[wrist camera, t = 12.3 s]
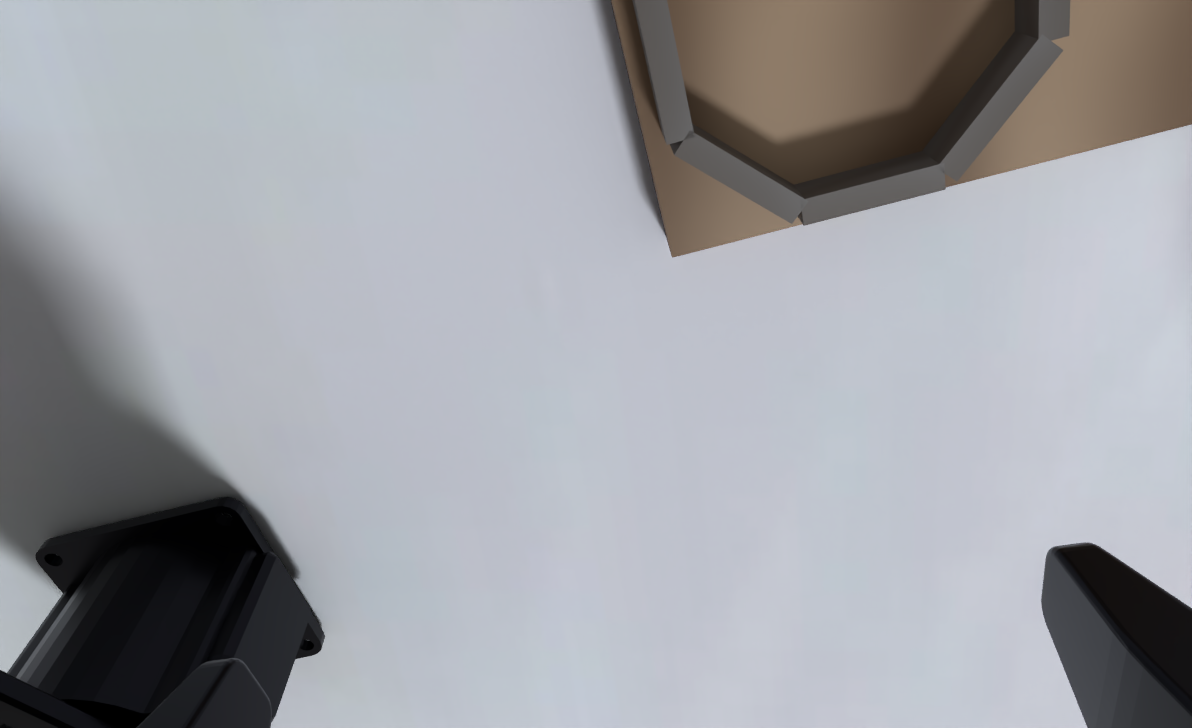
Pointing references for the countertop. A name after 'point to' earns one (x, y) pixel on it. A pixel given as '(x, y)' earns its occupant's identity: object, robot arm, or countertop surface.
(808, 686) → the countertop surface
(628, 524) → the countertop surface
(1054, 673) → the countertop surface
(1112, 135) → the board
